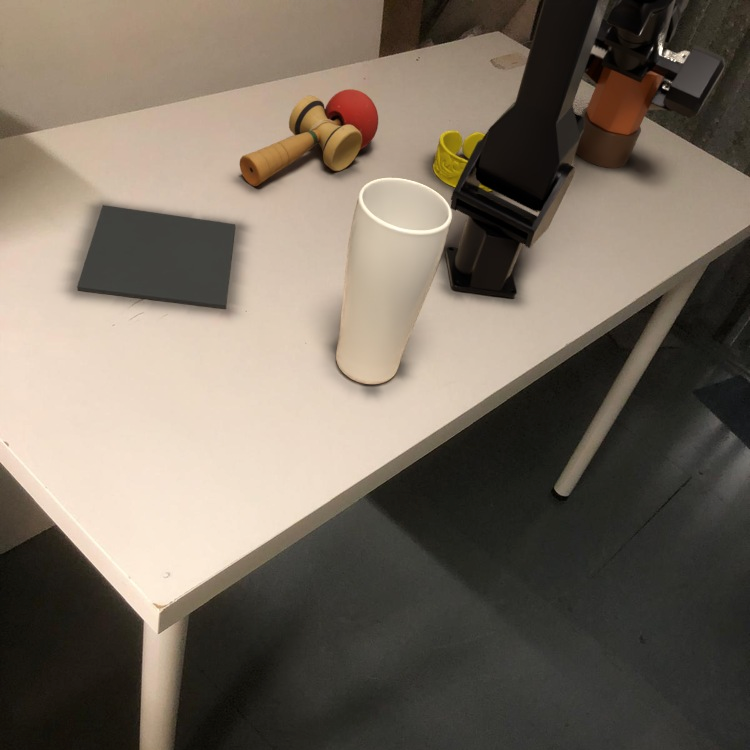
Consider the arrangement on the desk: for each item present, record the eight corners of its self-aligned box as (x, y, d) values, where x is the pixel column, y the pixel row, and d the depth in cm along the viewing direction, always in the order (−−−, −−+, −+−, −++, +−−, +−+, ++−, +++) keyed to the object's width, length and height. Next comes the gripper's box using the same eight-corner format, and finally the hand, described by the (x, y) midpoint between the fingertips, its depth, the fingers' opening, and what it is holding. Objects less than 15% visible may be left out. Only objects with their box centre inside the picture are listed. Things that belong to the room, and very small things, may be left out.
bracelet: (509, 193, 85) (519, 166, 82) (445, 192, 82) (453, 164, 80) (486, 158, 89) (495, 131, 86) (424, 155, 86) (431, 127, 84)
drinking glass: (357, 327, 66) (393, 165, 54) (420, 366, 64) (471, 209, 52) (309, 363, 62) (337, 197, 50) (375, 406, 60) (420, 245, 48)
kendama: (282, 218, 75) (396, 147, 84) (273, 156, 71) (396, 88, 79) (230, 193, 79) (345, 127, 87) (218, 133, 74) (342, 69, 82)
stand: (633, 172, 94) (666, 104, 87) (576, 162, 93) (606, 92, 86) (618, 141, 99) (649, 74, 92) (564, 131, 97) (592, 63, 91)
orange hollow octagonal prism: (642, 137, 91) (671, 78, 86) (593, 128, 90) (619, 68, 85) (629, 112, 95) (655, 54, 90) (582, 103, 94) (606, 43, 88)
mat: (225, 309, 64) (225, 305, 63) (77, 290, 61) (76, 286, 61) (235, 227, 71) (235, 224, 71) (103, 208, 69) (102, 204, 68)
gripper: (772, -26, 73) (733, 63, 88) (601, -94, 77) (592, 2, 92) (710, 80, 75) (682, 149, 90) (545, 8, 78) (545, 86, 93)
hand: (626, 94), depth 91 cm, fingers closed on orange hollow octagonal prism, 7 cm apart
